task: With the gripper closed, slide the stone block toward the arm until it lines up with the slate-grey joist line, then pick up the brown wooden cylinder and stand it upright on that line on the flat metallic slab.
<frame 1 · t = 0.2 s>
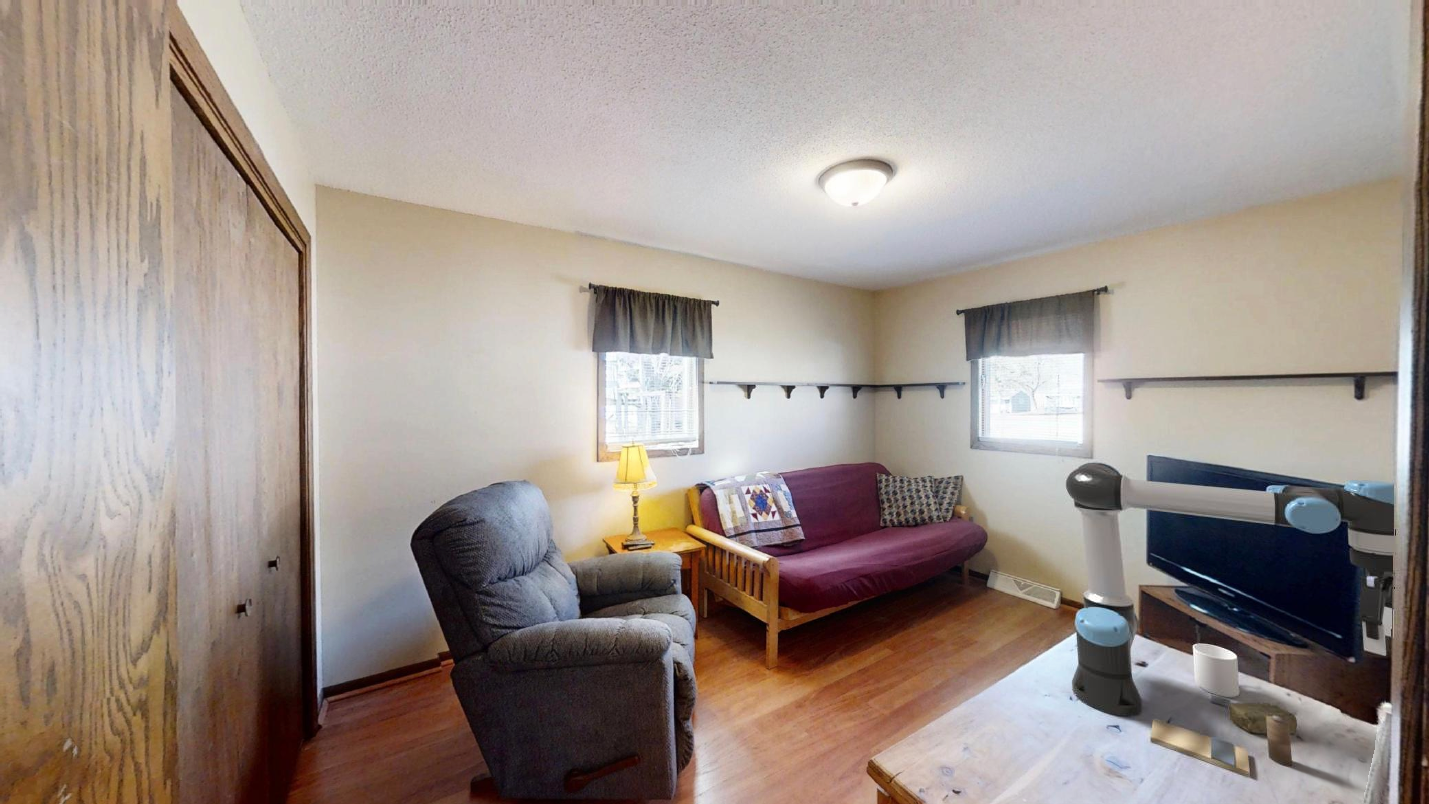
hand: (1383, 644, 104), 26 cm above the table, fingers open, 13 cm apart
stone block: (1262, 728, 116), on the table
brown wooden cylinder: (1280, 760, 106), on the table
mug: (1220, 688, 132), on the table
flat metallic slab: (1222, 756, 108), on the table
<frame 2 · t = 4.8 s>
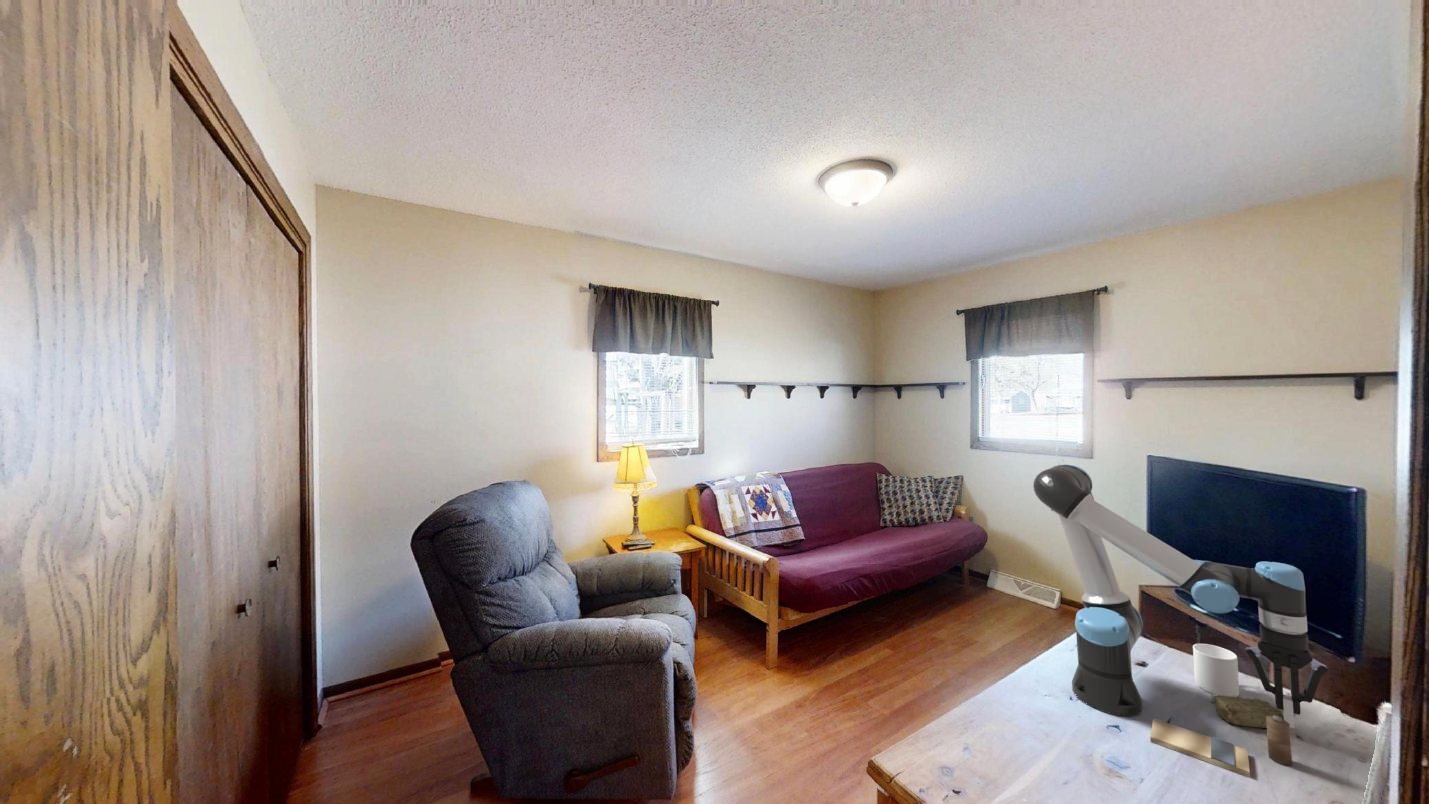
hand: (1288, 724, 113), 3 cm above the table, fingers closed
stone block: (1247, 722, 118), on the table
everything else where it was.
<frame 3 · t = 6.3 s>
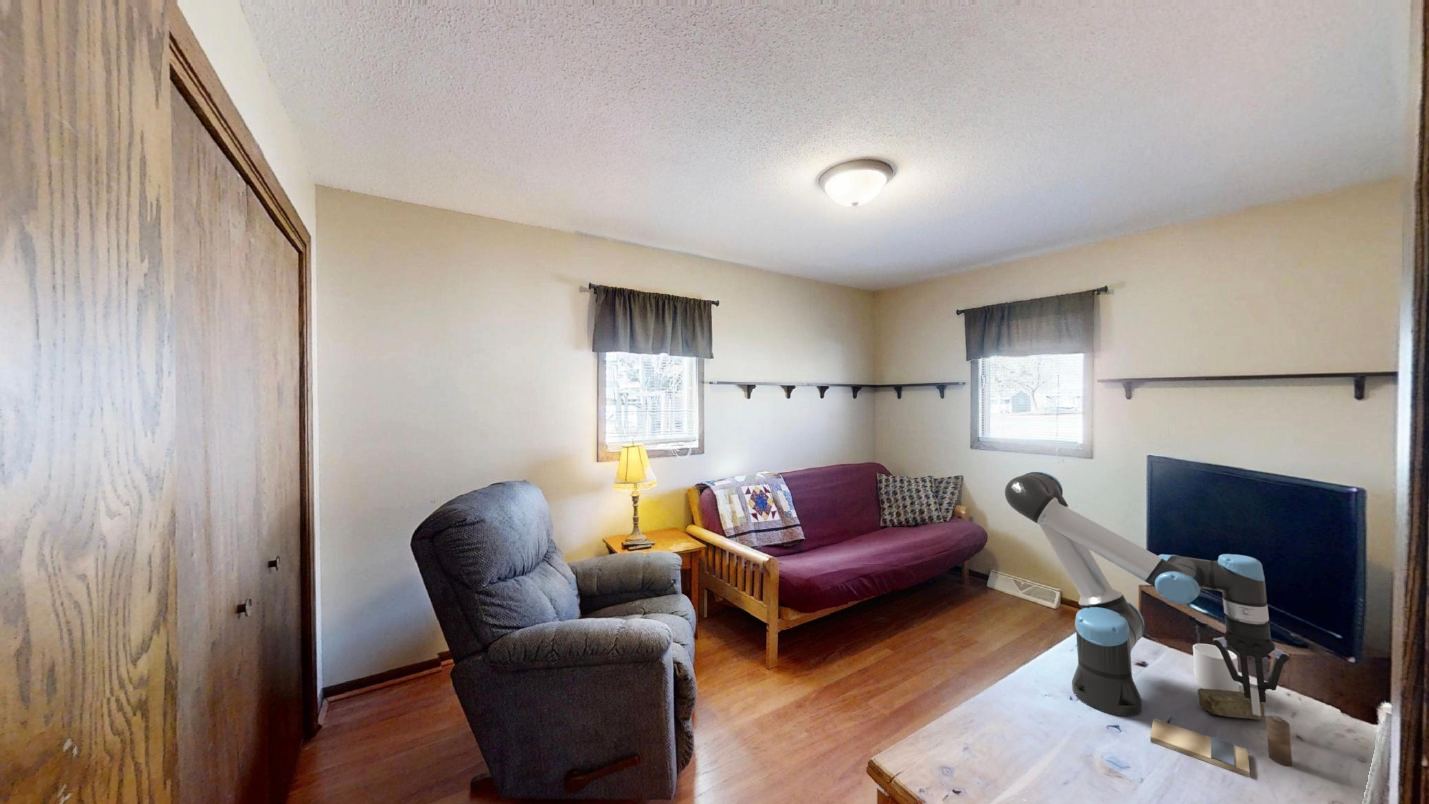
hand: (1256, 712, 116), 3 cm above the table, fingers closed
stone block: (1231, 714, 121), on the table, touching gripper, flat metallic slab
everything else where it was.
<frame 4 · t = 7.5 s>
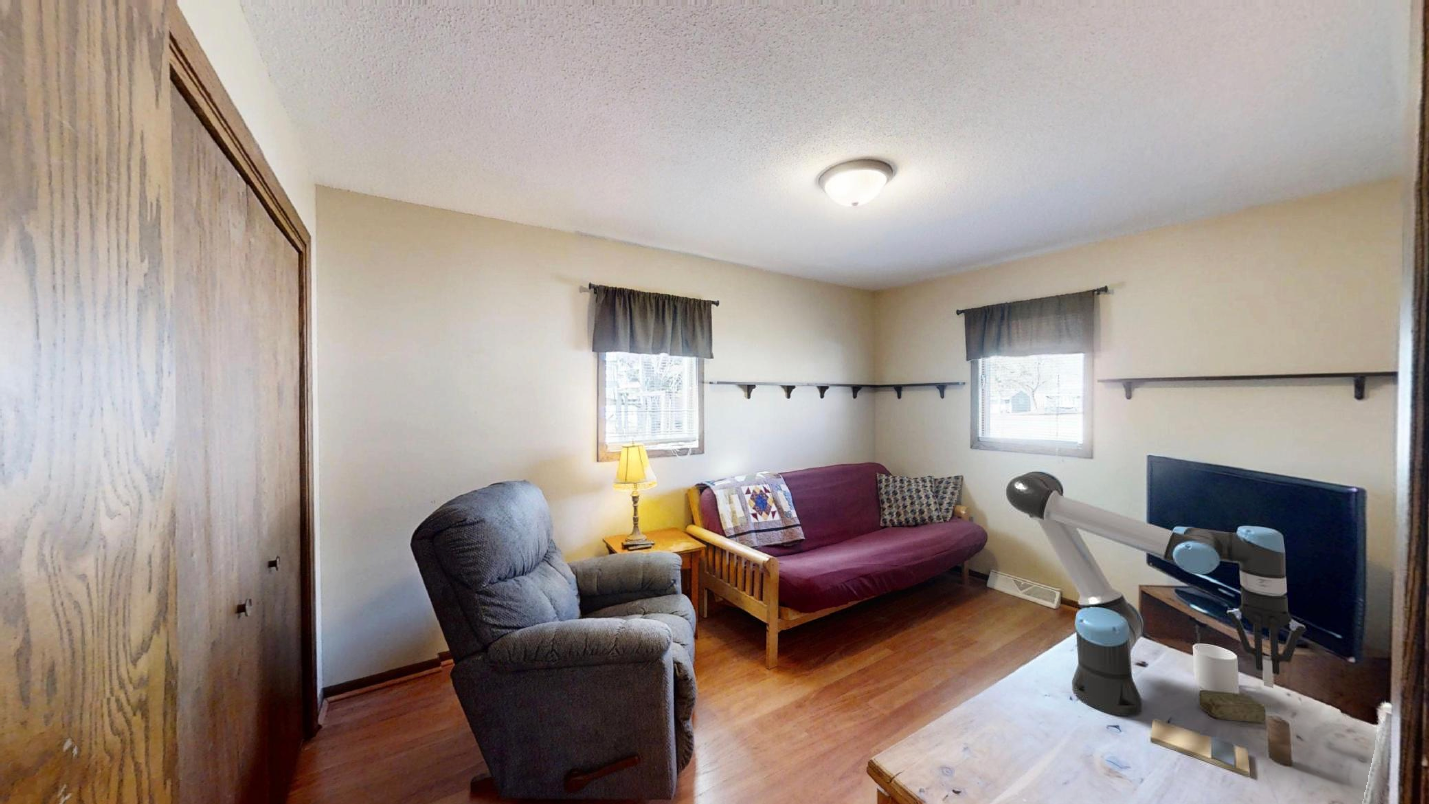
hand: (1268, 684, 115), 11 cm above the table, fingers closed
stone block: (1231, 716, 121), on the table
everything else where it was.
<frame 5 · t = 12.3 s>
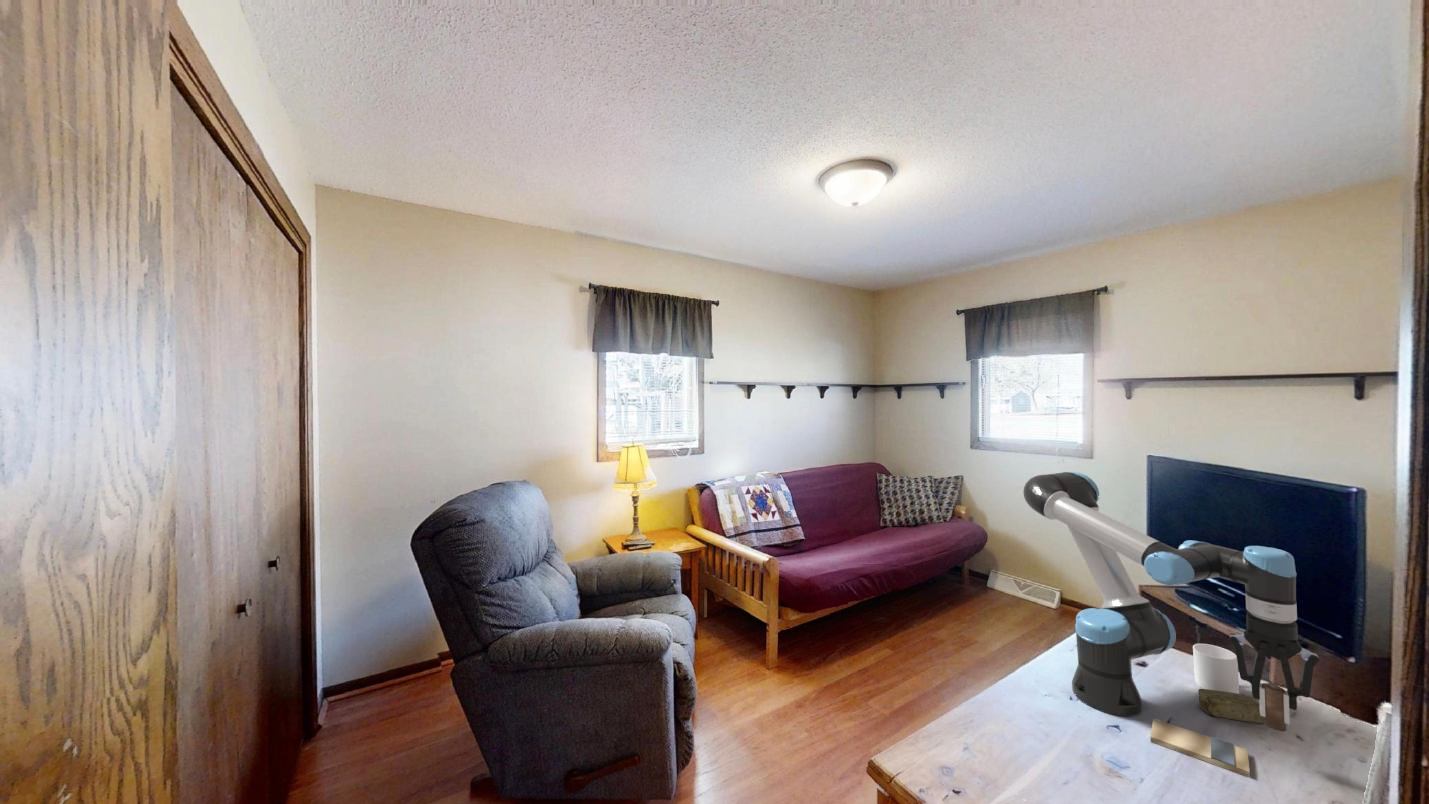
hand: (1274, 716, 106), 10 cm above the table, fingers closed on brown wooden cylinder, 3 cm apart
brown wooden cylinder: (1274, 726, 106), point 7 cm above the table, touching gripper
everything else where it was.
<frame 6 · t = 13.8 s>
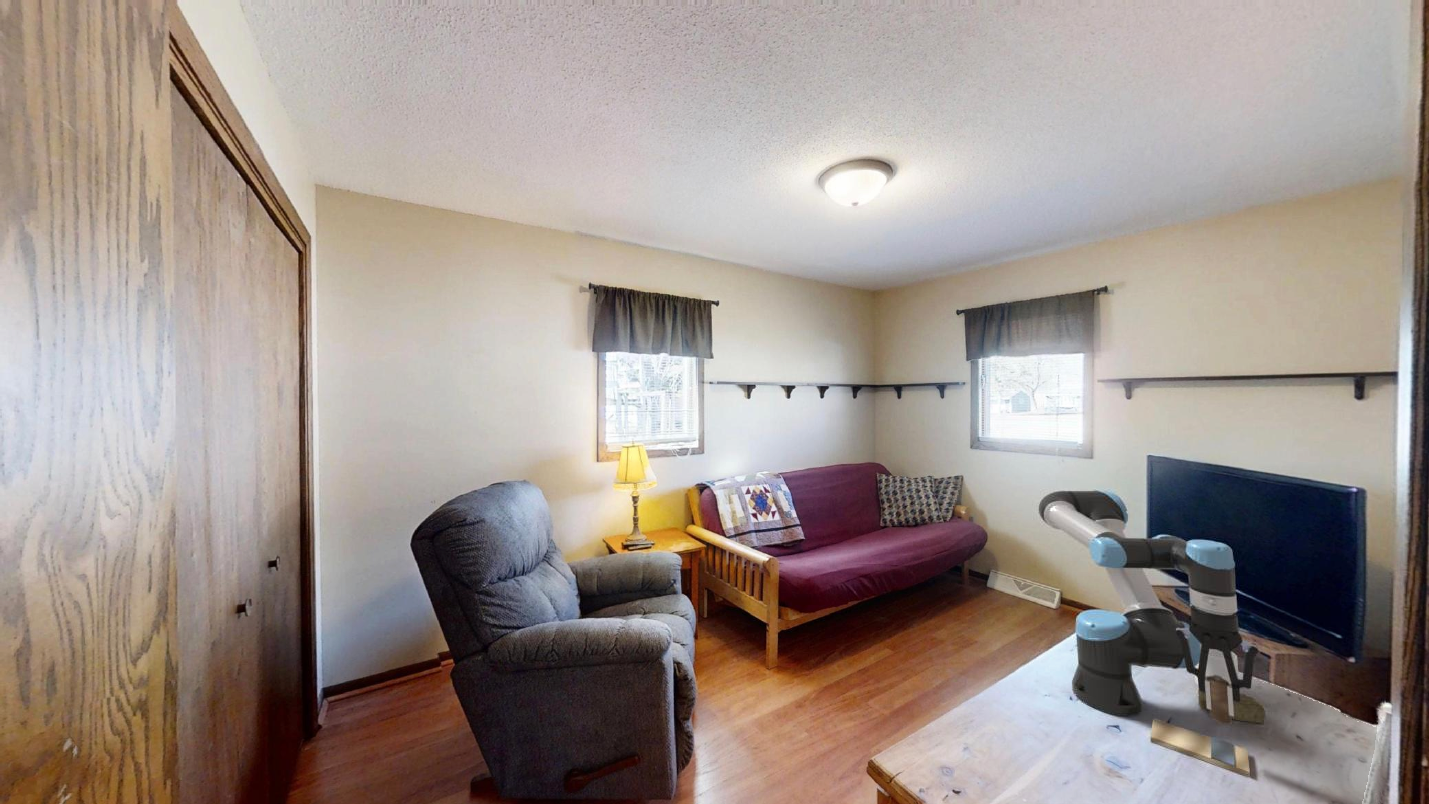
hand: (1220, 709, 108), 11 cm above the table, fingers closed on brown wooden cylinder, 3 cm apart
brown wooden cylinder: (1220, 719, 107), point 9 cm above the table, touching gripper
everything else where it was.
when the fingers open (2 cm above the table, at t = 15.5 s): brown wooden cylinder stays where it is, resting on flat metallic slab.
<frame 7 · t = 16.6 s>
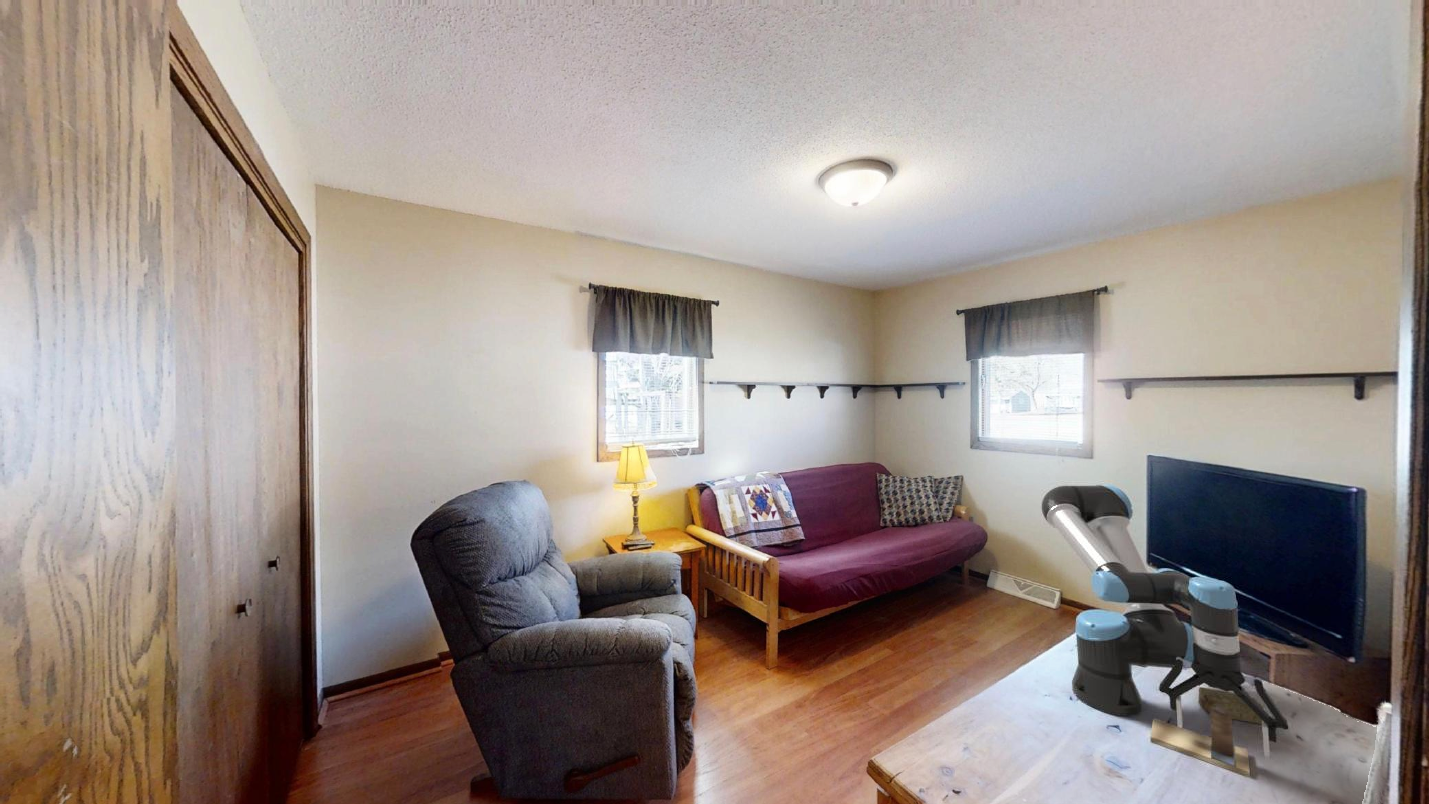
hand: (1221, 738, 108), 4 cm above the table, fingers open, 13 cm apart
brown wooden cylinder: (1223, 750, 107), point 2 cm above the table, touching flat metallic slab
everything else where it was.
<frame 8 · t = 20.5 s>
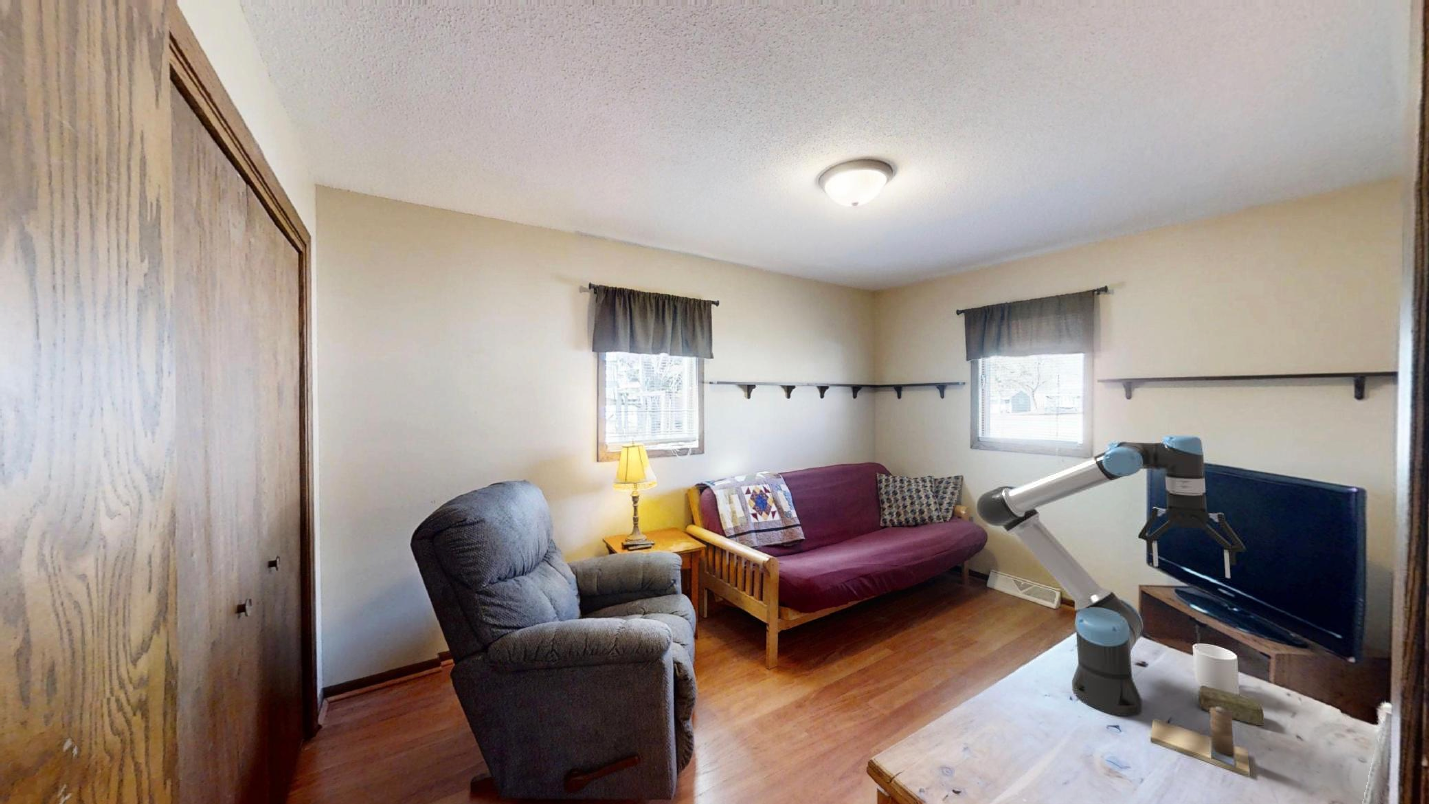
hand: (1190, 570, 125), 37 cm above the table, fingers open, 13 cm apart
at the end: stone block inside the target area (2.5 cm from its centre), on the table; brown wooden cylinder 0.2 cm from the flat metallic slab (horizontally); brown wooden cylinder tilted 0° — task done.
